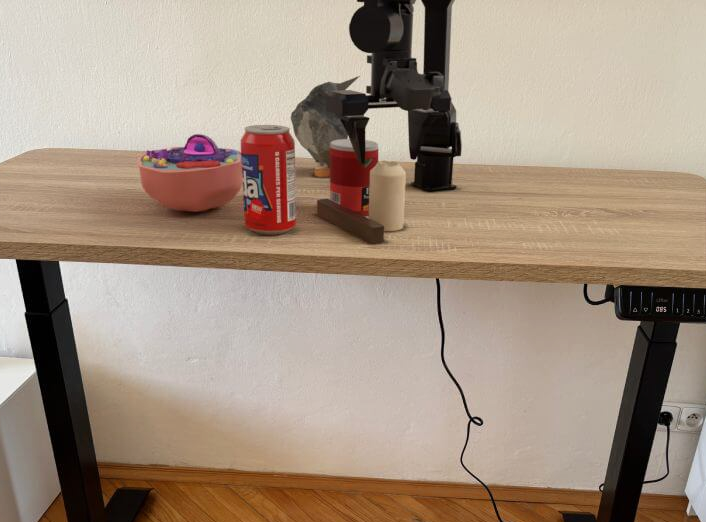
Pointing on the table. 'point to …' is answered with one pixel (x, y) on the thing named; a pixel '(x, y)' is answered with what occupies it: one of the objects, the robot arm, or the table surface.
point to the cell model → (192, 175)
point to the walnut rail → (351, 221)
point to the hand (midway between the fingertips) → (387, 161)
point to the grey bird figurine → (319, 125)
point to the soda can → (268, 179)
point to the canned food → (351, 175)
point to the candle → (387, 195)
